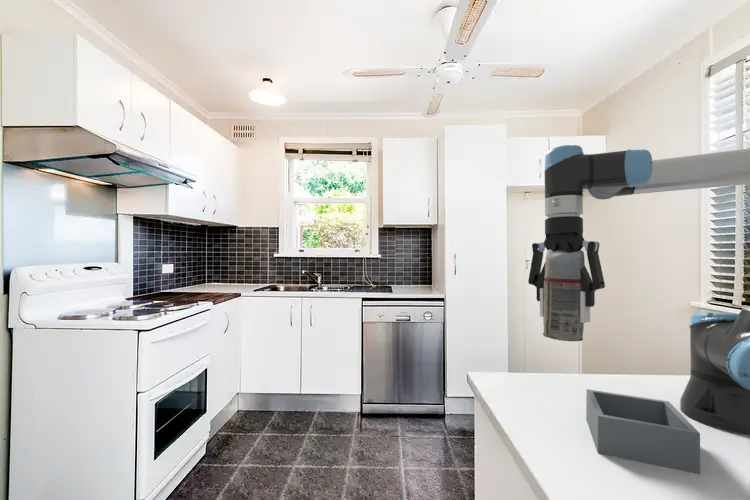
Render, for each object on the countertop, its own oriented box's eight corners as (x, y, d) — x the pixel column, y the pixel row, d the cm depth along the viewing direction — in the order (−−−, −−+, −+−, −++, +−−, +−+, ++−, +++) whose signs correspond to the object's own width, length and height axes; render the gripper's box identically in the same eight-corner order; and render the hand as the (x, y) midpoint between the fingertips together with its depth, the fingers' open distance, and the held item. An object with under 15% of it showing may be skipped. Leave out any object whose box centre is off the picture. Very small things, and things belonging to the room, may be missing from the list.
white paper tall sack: (589, 338, 78) (588, 248, 78) (580, 344, 72) (579, 247, 72) (549, 332, 83) (548, 249, 84) (537, 338, 77) (537, 248, 78)
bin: (668, 434, 69) (668, 401, 69) (700, 474, 56) (700, 433, 56) (586, 419, 74) (586, 389, 75) (597, 452, 62) (598, 415, 62)
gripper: (511, 219, 85) (511, 313, 84) (608, 210, 67) (609, 328, 67) (529, 222, 89) (529, 311, 88) (624, 213, 72) (625, 324, 71)
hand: (564, 318), depth 78 cm, fingers closed on white paper tall sack, 8 cm apart
